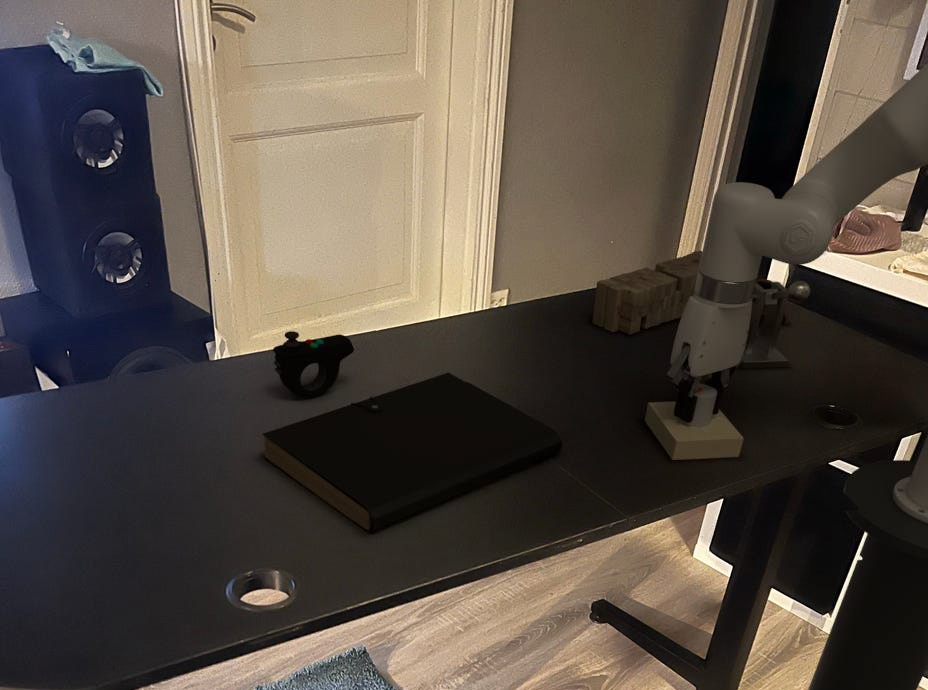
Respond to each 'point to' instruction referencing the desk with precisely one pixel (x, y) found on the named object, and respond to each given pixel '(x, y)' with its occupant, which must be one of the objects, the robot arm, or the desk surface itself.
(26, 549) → the desk surface
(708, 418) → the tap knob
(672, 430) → the beige rectangular block
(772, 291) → the tap lever
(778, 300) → the bracket
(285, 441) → the black hardcover book
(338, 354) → the controller
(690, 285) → the block tower
